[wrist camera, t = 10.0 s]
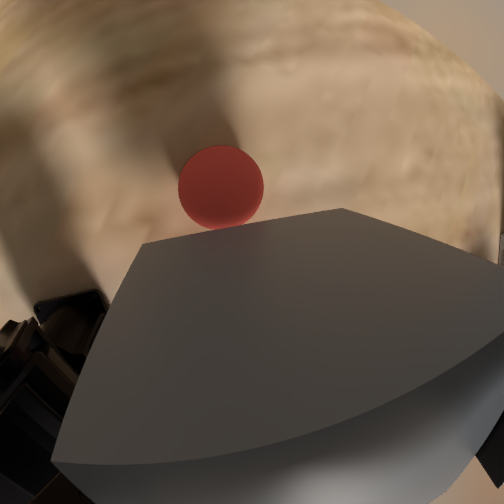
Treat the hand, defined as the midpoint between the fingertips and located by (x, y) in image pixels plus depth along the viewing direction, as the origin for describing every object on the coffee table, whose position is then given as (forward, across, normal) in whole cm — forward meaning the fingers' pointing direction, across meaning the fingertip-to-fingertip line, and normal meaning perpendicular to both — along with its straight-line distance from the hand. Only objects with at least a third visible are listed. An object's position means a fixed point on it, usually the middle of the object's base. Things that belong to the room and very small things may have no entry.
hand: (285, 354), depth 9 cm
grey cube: (+3, 0, 0) cm, 3 cm away
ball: (+10, 0, -4) cm, 11 cm away
